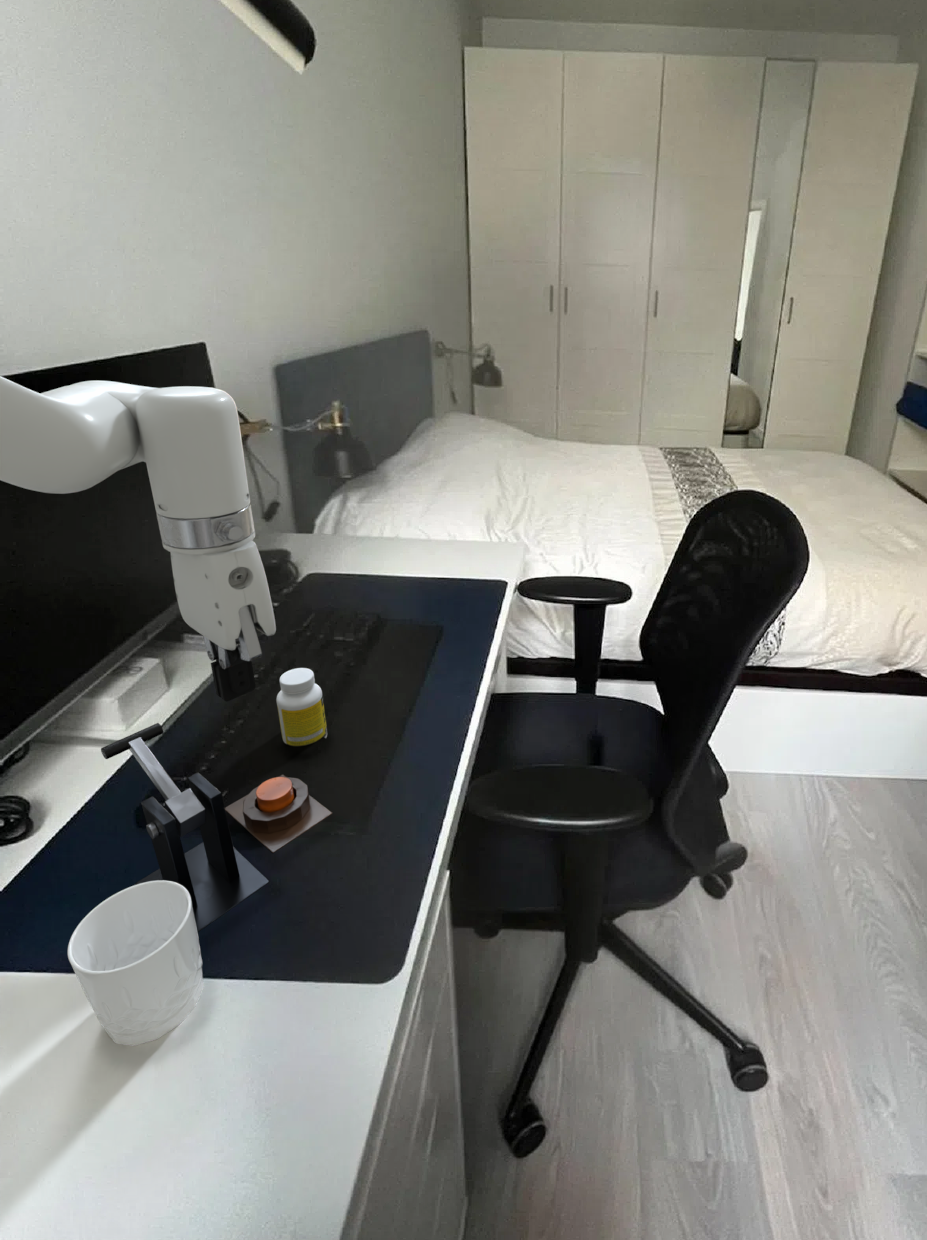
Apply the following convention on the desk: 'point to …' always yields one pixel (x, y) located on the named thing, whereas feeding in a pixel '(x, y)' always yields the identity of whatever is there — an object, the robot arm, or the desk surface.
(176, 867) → the bracket
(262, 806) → the button
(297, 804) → the button box
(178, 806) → the lever
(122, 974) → the white cup
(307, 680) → the supplement bottle
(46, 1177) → the desk surface
